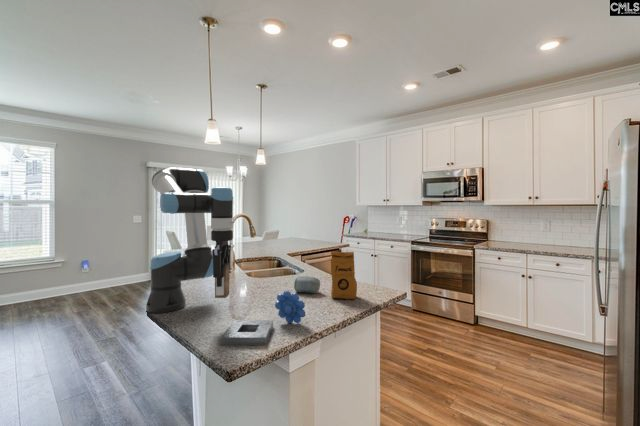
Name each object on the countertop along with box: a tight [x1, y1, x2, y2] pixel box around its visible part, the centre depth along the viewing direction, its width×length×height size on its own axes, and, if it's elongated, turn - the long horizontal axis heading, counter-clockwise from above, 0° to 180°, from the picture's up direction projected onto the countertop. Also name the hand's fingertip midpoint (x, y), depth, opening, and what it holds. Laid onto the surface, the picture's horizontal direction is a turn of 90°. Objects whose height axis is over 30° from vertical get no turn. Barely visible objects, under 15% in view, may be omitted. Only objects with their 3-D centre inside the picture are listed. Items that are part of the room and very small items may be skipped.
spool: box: [293, 275, 321, 295], centre depth 147 cm, size 14×10×10 cm
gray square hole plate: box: [219, 319, 274, 347], centre depth 97 cm, size 14×14×2 cm
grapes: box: [274, 290, 306, 324], centre depth 106 cm, size 12×7×12 cm, turn 79°
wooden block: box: [214, 263, 230, 299], centre depth 107 cm, size 4×4×12 cm
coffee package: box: [330, 251, 358, 300], centre depth 138 cm, size 10×12×22 cm
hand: (222, 292), depth 107 cm, fingers closed on wooden block, 4 cm apart
